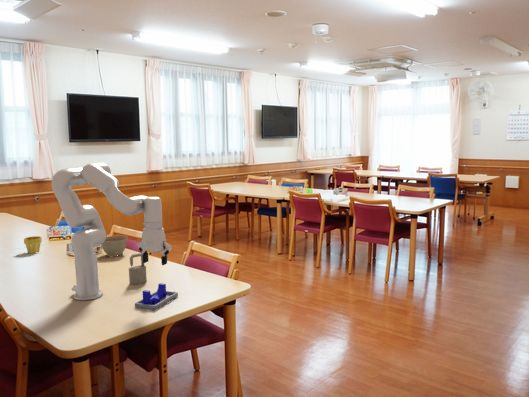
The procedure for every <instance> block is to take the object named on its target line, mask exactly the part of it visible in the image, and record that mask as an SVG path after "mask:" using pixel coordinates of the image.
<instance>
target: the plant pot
mask: <svg viewBox="0 0 529 397" xmlns="http://www.w3.org/2000/svg"><path fill="white" fill-rule="evenodd" d="M42 238H43V237H42V236H37V235H36V236H29V237H28V236H27V237H24V238H23V243H24V245H25V248H26V252H27V253H28V254H30V253H33V254H37V253H36V252H38V253H39V252H40V249H41V245H42V244H41V243H42V241H43V239H42Z"/></svg>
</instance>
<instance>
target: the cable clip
mask: <svg viewBox="0 0 529 397" xmlns="http://www.w3.org/2000/svg"><path fill="white" fill-rule="evenodd" d="M157 286H158V287H157V290H156V291H157V292H156V291H155V292H156V294H155V295H154V296H151V294H152V293H151V290H147V289H144V290H142V299H143V304H148V305H154V304H156V303H158V302H160V299H162V298H164V297H166V291H167V285H166V283H161V282H159V283H158V285H157Z"/></svg>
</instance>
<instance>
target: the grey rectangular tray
mask: <svg viewBox="0 0 529 397" xmlns="http://www.w3.org/2000/svg"><path fill="white" fill-rule="evenodd" d="M156 292H157V290H156V291H154V292H153V293H151V296H154V295H155V294H156ZM178 297H179V292H178V291H170V290H169V291H168V290H166V297H164V298H162V299H160V302H158V303H156V304H154V305H148V304H143V298H142V299H140V300H138V301H136V302H134V308H135V309H142V310H148V311H149V310H150V311H154V312H155V311H157V310H158V309H160V308H162V307H163V306H165V305H166V304H169V303H170V302H172V301H173V300H174V299H176V298H178Z"/></svg>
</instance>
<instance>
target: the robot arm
mask: <svg viewBox="0 0 529 397" xmlns="http://www.w3.org/2000/svg"><path fill="white" fill-rule="evenodd" d="M86 185H91V186H92V187H94V188H95V189H96V190H98V191H100V193H103V195H105V197H106V199H107V201H108V203H109V204H110V205H111V206H112V207H114V208H115V209H116V210H117V211H118V212H120V213H121V214H124V215H126V216H134V215H138V214H141V213H143V214H144V215H143V217H144V220H143V222H142V225H143V226H144V227H143V228H142V232H141V240H140V242H137V243H136V245H137V247H138V250H139V252H140V253H141V254H142V255H143V263H144V264H145V263H147V262H149V252H151V253H160V254H161V255H162V256H161V266H165V265H166V264H168V256H169V254H170V253H171V251H172V248H173V246H172V245H171V244H169V243H168V242H166V241H167V239H166V233H165V232H166V231H165V228H163V207H162V206H163V205H162V198H160V197H159V196H146V195H137V196H132V197H129V196H127V195H126V194H124V193H123V192H122V191H121V190H120V189H119V186H120V180H118V179H117V178H116V177H115V176H114V175H112V170H111V168H110V166H109V165H108V164H106V163H104V162H95V163H87V164H86V165H84V166H78V167H70V168H69V167H68V168H62V169H60V170H58V171H56V173H54V175H53V176H52V179H51V189H52V192H53V194H54V196H55V197H56V200H57V202H58V204H59V207H60V209H61V212H62V214H63V217H64V220H65V221H66V223H67V224H66V225H67V226H68V227H70V228H71V229H77V228H81V227H84V228H83V229H80V230H78V231H76V232H74V234H72V236H71V240H70V243H71V247H72V252H73V256H74V265H75V279H76V284H75V285H73V286H72V288H71V291H73V292H75V293H74V294H73V299H75V300H76V301H91V300H96V299H98V298H100V297H102V296H103V294H104V293H103V292H104V291H103V290H101V289H100V285H99V283H100V282H99V271H98V270H99V269H98V268H99V266H98V257H97V254H96V251H95V250H94V248H95V247H98V246H101V244H102V243H104V242H105V240H106V237H107V232H106V229H105V227H104V224H103V222H102V220H101V216H100V214H99V212H98V210H97V209H96V208H95V206H93V205H90V204H83V205H82V203H81V200H80V199H79V196H78V194H77V192H75V191H74V190H73V189H72V188H73V187H79V186H80V187H81V186H86Z"/></svg>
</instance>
